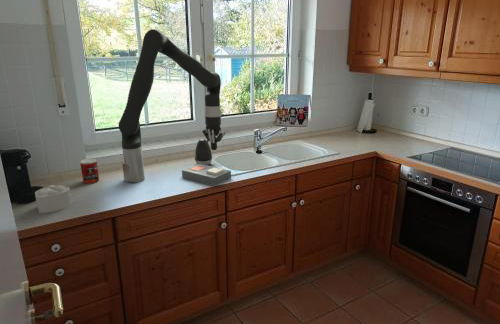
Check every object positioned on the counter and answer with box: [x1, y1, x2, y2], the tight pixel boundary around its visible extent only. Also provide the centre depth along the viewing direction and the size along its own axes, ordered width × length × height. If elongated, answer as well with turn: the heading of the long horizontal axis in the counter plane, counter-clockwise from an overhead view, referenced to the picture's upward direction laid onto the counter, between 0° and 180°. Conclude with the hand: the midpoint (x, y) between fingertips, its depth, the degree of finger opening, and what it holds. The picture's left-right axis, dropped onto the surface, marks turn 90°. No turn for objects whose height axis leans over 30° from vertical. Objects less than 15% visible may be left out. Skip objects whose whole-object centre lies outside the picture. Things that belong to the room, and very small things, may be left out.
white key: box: [207, 166, 224, 176], centre depth 186 cm, size 6×6×4 cm
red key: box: [190, 166, 205, 171], centre depth 193 cm, size 6×6×4 cm
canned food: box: [79, 158, 100, 185], centre depth 185 cm, size 8×8×11 cm
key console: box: [181, 163, 232, 186], centre depth 189 cm, size 13×22×4 cm, turn 55°
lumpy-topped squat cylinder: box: [34, 184, 73, 214], centre depth 156 cm, size 10×13×9 cm
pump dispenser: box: [194, 138, 213, 166], centre depth 209 cm, size 10×10×15 cm
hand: (214, 149), depth 182 cm, fingers closed
